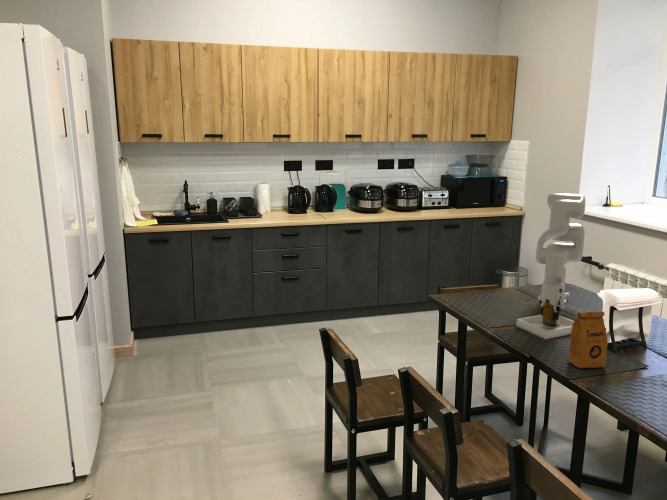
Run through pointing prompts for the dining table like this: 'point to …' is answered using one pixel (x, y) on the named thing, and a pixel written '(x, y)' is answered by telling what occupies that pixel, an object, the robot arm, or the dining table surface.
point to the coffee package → (588, 340)
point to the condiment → (549, 315)
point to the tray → (542, 330)
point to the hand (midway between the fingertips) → (549, 317)
